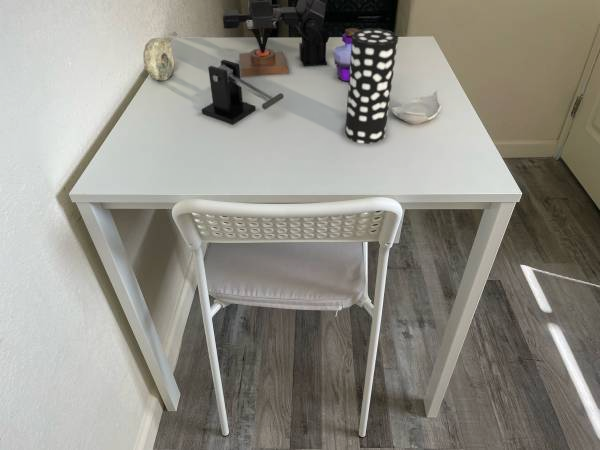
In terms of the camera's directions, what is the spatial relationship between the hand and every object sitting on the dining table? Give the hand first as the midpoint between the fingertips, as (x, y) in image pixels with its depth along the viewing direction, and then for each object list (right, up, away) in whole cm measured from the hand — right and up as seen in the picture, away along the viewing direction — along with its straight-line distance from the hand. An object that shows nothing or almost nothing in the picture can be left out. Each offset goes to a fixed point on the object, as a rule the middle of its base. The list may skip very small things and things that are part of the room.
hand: (262, 51), depth 120 cm
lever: (-2, -17, -23) cm, 29 cm away
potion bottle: (+22, -8, -2) cm, 24 cm away
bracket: (-6, -20, -16) cm, 26 cm away
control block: (0, -3, +3) cm, 4 cm away
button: (0, -1, +1) cm, 2 cm away
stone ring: (-25, -8, -2) cm, 27 cm away
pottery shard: (+35, -22, -19) cm, 46 cm away
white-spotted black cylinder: (+23, -26, -23) cm, 42 cm away
